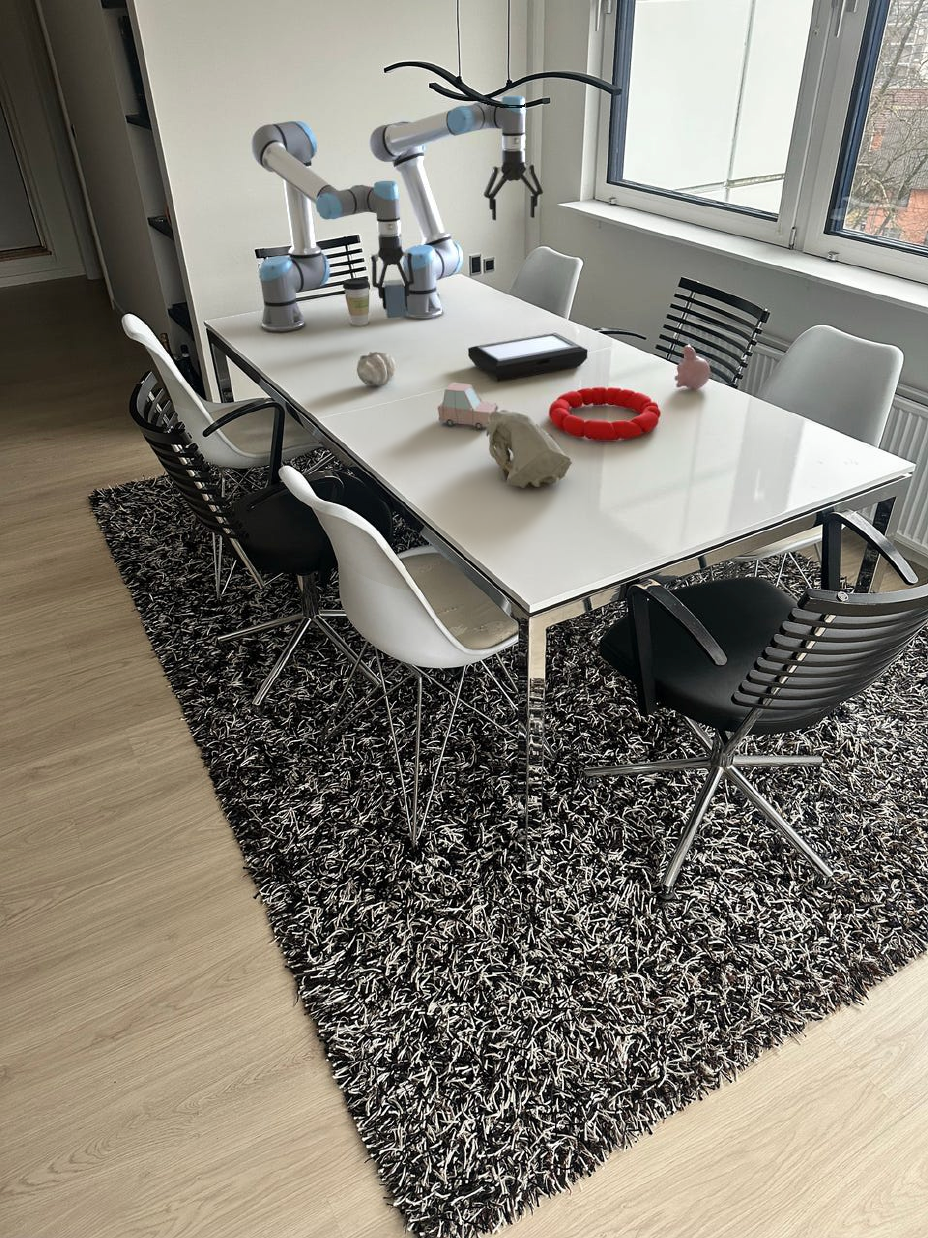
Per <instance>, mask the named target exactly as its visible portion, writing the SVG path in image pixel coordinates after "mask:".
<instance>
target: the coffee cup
mask: <svg viewBox="0 0 928 1238" xmlns="http://www.w3.org/2000/svg"><path fill="white" fill-rule="evenodd" d="M370 287H371V283H370V282H369V279H367V278H365V277H351V278H347V279H345V280H344V281H343V285H342V288H343V290H344V297H345V301H346V305H347V310H348V314H349V318H350V323H351V325H353V326H357V327H359V326H365V325H368V324H369V317H370V316H369V313H370Z"/></svg>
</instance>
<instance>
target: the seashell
mask: <svg viewBox="0 0 928 1238" xmlns="http://www.w3.org/2000/svg"><path fill="white" fill-rule="evenodd" d="M356 373H357V376H358V378H359V380H360V381H361V382H362V383H363V384H365V385H367V386H375V385H376V386H384V385H387V384H388V383H389V382H390V381H391V379H392V378H393V377H394V375H395V374H396V363H395V360H394V358H393V356H391V355H388V354H387V353H386V352H385V353H383V352H376V351H373V352H371V351H370V352H369V354H368V355H367V354H363V355H360V357H359V360H358V361H357V366H356Z"/></svg>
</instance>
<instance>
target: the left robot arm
mask: <svg viewBox="0 0 928 1238" xmlns="http://www.w3.org/2000/svg"><path fill="white" fill-rule="evenodd" d="M317 151H318V143H317V139H316V136H315V134H314V131H313V130H312V129H311V127H310V126H309V125H308V124H307V123H306V122H304V121H299V120H298V121H297V120H296V121H293V120H292V121H290V120H289V121H285V122H277V123H271V124H270V123H268V124H264V125H261V126H260V127H259V128H258V129H257V130H256V131H255V132H254V134H253V136H252V139H251V152H252V155H253V157H254V159H255V160H256V162H257V163H258V164H259V166H261V167H262V168H263V169H264V170H266V171H267V172H269V173H275V174H276V175H278V176H279V177H280V178H281V179H283V183H284V193H285V201H286V206H287V207H286V209H287V216H288V223H289V232H290V239H291V247H290V249H289V250H288V255H277V256H272V257H268V258H266V259H264V260H262V261H261V262H260V264H259V266H258V277H259V280H260V287H261V292H262V299H263V313H262V319H261V326H262V330H264V331H265V332H271V333H286V332H293V331H296V330H297V331H298V330H300V329H302V328H304V326H305V318H304V317H303V314H302V312H301V310H300V307H299V306H298V305H299V304H298V303H297V295H296V294H299V293H302V292H306V291H310V290H315V289H318V288H320V287H323V286H325V284H327V282H328V281H329V278H330V273H331V267H330V266H331V265H330V262H329V260H328V257H327V255H326V254H324V253H323V252H322V248H321V247H320V246H319V245H317V241H316V230H315V223H314V222H315V221H314V213H313V204H314V205H315V208H316V212H317V213H318V215H319V217H320V218H321V219H323V220H326V221H329V220H337V219H340V218H345V217H348V216H354V215H358V214H362V213H374V214H376V228H377V234H378V235H377V238H378V239H377V240H378V241H377V242H378V252H377V253H375V254H370V259H371V274H372V275H371V285H372V287H373V288H376V289H377V294H378V298H379V299H381V301H382V302H381V303H382V308H383V310H385V309H386V304H385V291H384V287H383V281H385V277H386V273H387V269H388V266H391V265H392V266H397V269H398V271H399V273H400V276H401V279H402V281H403V283H404V292H405V307H407V298H406V296H409V286H410V285H411V284H414V278H413V271H412V264H411V258H412V254H411V252H405V250H404V249H403V242H402V240H403V239H402V235H401V232H402V229H401V212H400V211H401V210H400V194H399V187H398V183H397V182H396V181H394V180H379V181H375V183H374V184H373V186H369V185H365V184H354V185H352V186H351V187H350V188H346V189H341V190H338V189H336V188H335V187H334V186H333V185H331V184H330V183H329V182H327V181H326V180H325V179H323V178H322V177H321V176H320V175H318V174H317V173H316V172H315V171H313V170H312V169H311V168H312V167H313V163H312V159H313V158H314V157H315V156H316V154H317ZM312 203H313V204H312ZM403 255H404V256H405V259H407V267H408V273H409V281H407V278H406V276H405V273H404V267H403V265H402V263H401V260H402V259H403ZM379 259H380V260H381V261H382V265H381V270H380V274H379V278H377V276H378V275H377V272H378V271H377V269H378V268H377V266H378V265H377V262H378V261H379ZM377 279H378V282H377Z"/></svg>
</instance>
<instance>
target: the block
mask: <svg viewBox="0 0 928 1238" xmlns="http://www.w3.org/2000/svg"><path fill="white" fill-rule="evenodd" d="M404 285H405V284H404V281H403V279H402V278H400V279H392V280H391V279H390V280H389V279H387V280H384V281H383V285H382V287H384V291H385V304H386V309H384V314H385V317H386V319H388V320H389V319H398V318H399V319H400V318H401V319H402V318H405V317H406V307H405V292H404Z"/></svg>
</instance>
